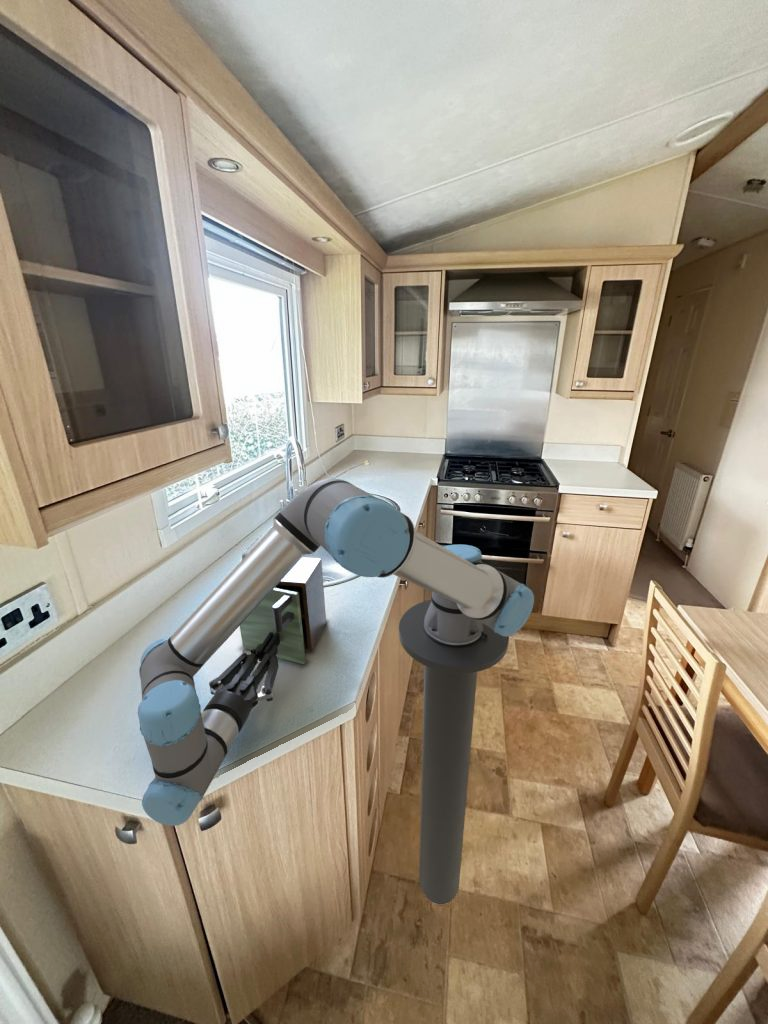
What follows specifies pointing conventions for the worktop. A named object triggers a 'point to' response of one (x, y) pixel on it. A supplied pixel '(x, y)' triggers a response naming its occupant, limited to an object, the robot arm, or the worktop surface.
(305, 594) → the cupboard
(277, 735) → the worktop surface
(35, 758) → the worktop surface
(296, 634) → the door
